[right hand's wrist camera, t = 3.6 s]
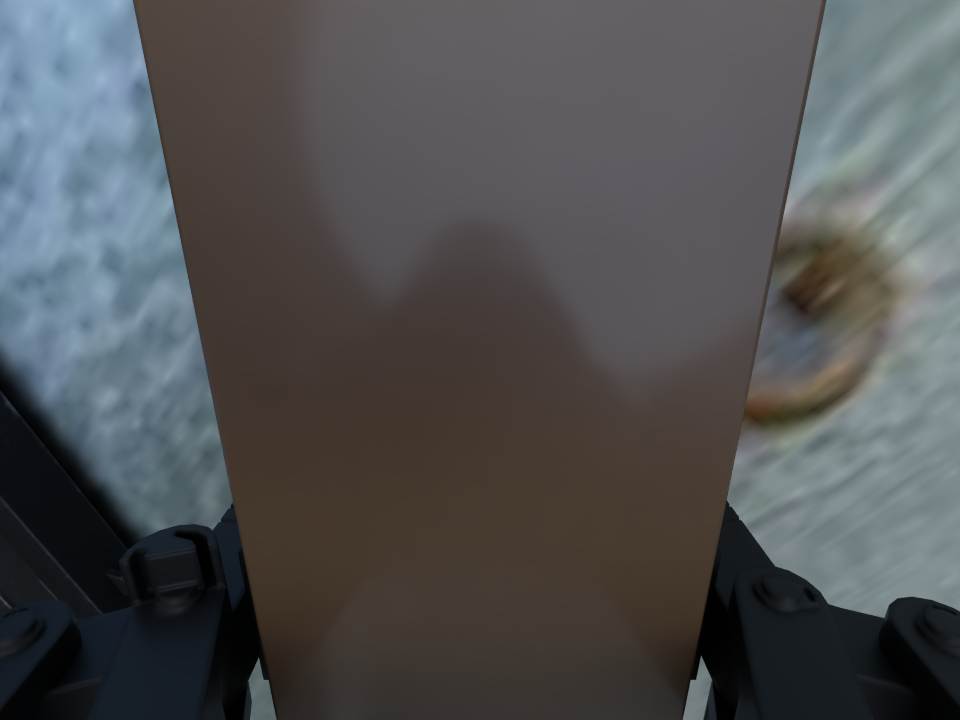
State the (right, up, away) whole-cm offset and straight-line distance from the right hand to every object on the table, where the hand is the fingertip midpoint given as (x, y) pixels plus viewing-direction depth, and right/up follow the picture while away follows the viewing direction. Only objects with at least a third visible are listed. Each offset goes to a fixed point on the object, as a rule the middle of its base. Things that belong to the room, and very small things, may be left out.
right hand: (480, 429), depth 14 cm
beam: (0, +20, -7) cm, 22 cm away
